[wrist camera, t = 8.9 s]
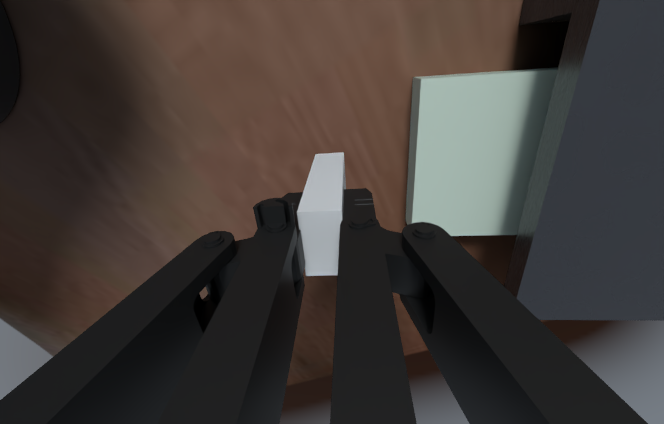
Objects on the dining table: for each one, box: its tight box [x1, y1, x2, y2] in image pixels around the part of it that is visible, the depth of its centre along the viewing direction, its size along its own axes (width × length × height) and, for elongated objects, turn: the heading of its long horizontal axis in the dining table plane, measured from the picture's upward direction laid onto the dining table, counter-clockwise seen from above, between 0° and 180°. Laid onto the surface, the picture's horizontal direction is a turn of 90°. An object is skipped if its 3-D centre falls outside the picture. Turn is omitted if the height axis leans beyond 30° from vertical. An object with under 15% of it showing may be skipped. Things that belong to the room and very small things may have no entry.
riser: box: [504, 0, 664, 320], centre depth 16 cm, size 12×18×6 cm, turn 4°
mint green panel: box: [405, 67, 558, 236], centre depth 19 cm, size 14×10×3 cm
